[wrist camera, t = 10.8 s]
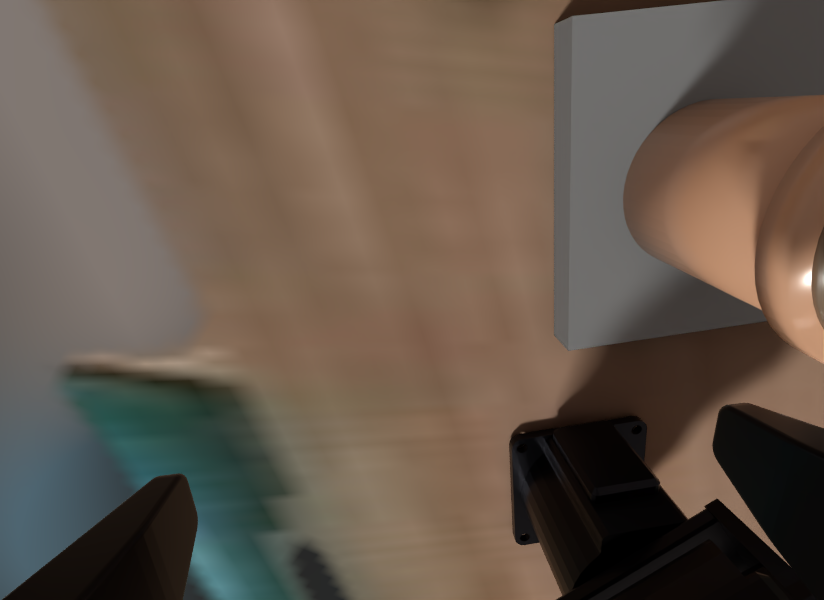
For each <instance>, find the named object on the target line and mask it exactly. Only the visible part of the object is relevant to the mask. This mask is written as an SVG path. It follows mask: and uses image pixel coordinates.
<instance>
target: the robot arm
mask: <svg viewBox="0 0 824 600" xmlns="http://www.w3.org/2000/svg"><path fill="white" fill-rule="evenodd" d="M634 426H636V427H635V428H634V429H632V428H633V427H634ZM646 433H647V426H646V424H645V423H644V422H643V420H642V419H641V418H640V417H637V416H630V417H624V418H618V419H611V420H605V421H599V422H593V423H586V424H580V425H574V426H567V427H561V428H555V429H549V430H542V431H536V432H530V433H524V434H518V435H515V436H514V437H513V438H512V439H511V440H510V443H509V451H510V475H511V500H512V525H513V535H514V538H515V540H516V542H517V543H518V544H520V545H527V544H533V543H539V542H540V545H541V547H542V549H543V552H544V554H545V556H546V559H547V561H548V563H549V565H550V568H551V570H552V572H553V575H554V577H555V579H556V582H557V584H558V586H559V589H560V591H561V593H562V596H561V597H560V598H558V599H556V600H824V428H821V427H818V426H815V425H812V424H809V423H806V422H803V421H800V420H797V419H794V418H791V417H788V416H785V415H782V414H780V413H777V412H774V411H771V410H768V409H765V408H762V407H759V406H756V405H753V404H750V403H739V404H731V405H725V406H723V407H722V408H721V409H720V411H719V413H718V418H717V423H716V428H715V434H714V439H713V452H714V455H715V457H716V459H717V461H718V463H719V464H720V466H721V467H722V469H723V470H724V472H725V473H726V475H727V476H728V478H729V479H730V481H731V482H732V484H733V485H734V487H735V488H736V490H737V491H738V493H739V494H740V496H741V497H742V499H743V500H744V502H745V503H746V505H747V506H748V508H749V510H750V511H751V513H752V514H753V516H754V517H755V519H756V520H757V522H758V523H759V525H760V526H761V528H762V529H763V530H764V532H765V533H766V535H767V536H768V538H769V539H770V541H771V542H772V543H773V544H774V546H775V547H776V548H777V550H778V551H779V552H780V554H781V555H782V556H783V557H784V559H785V560H786V561H787V563H788V564H789V565H790V566H791V567H790V566H789V565H788V564H787V563H786V562H785V561H784V560H783V559H782V558H780V557H779V556H778V555H777V554H776V553H775V552H774V551H773V550H772V549H771V548H770V547H769V546H768V545H767V544H765V543H764V542H763V541H762V540H761V539H760V538H759V537H758V536H757V535H756V534H755V533H754V532H753V531H752V530H750V529H749V528H748V527H747V526H746V525H745V524H744V523H743V522H742V521H741V520H740V519H739V518H738V517H737V516H735V515H734V514H733V513H732V512H731V511H730V510H729V509H728V508H727V507H726V506H725V505H724V504H723V503H722V502H720V501H719V500H718V499H715V500H714V501H712V502H711V503H709V504H707V505H706V506H705V508H706V509H705V510H703V511H701V512H700V513H698V514H696V515H695V516H693V517H691V518H690V519H688V518H687V517H686V516H685V515H684V513H683V512H682V511H681V510H680V509H679V507H678V506H677V505H676V504H675V502H674V501H673V500H672V499H671V498H670V496H669V495H668V494H667V493H666V492H665V490H664V489H663V488H662V487H661V485H660V481H659V479H658V478H657V477H656V476H655V475H654V473H653V472H652V471H651V470H650V469H649V467H648V466H647V465H646V464H645V463H644V457H645V445H646ZM520 444H524V445H523V446H522V447H518V446H519V445H520ZM197 525H198V517H197V511H196V508H195V504H194V501H193V497H192V494H191V490H190V487H189V484H188V481H187V478H186V477H185V476H184V475H183V474H171V475H163V476H158V477H155V478H154V479H152V480H151V481H150V482H148V483H147V484H146V485H145V486H143V487H142V488H141V489H140V490H138V491H137V492H136V493H135V494H133V495H132V496H131V497H130V498H128V499H127V500H126V501H125V502H123V503H122V504H121V505H120V506H118V507H117V508H116V509H115V510H113V511H112V512H111V513H110V514H108V515H107V516H106V517H105V518H103V519H102V520H101V521H100V522H98V523H97V524H96V525H95V526H93V527H92V528H91V529H90V530H88V531H87V532H86V533H85V534H83V535H82V536H81V537H80V538H78V539H77V540H76V541H75V542H73V543H72V544H71V545H70V546H68V547H67V548H66V549H65V550H63V552H61V553H60V554H58V555H57V556H56V557H55V558H53V559H52V560H51V561H50V562H48V563H47V564H46V565H45V566H43V567H42V568H41V569H40V570H39V571H37V572H36V573H35V574H33V575H32V576H31V577H30V578H28V579H27V580H26V581H25V582H24V583H22V584H21V585H20V586H18V587H17V588H16V589H15V590H13V591H12V592H11V593H10V594H8V595H7V596H6V597H5V598H3V599H2V600H183V596H184V592H185V586H186V582H187V577H188V572H189V567H190V562H191V557H192V552H193V547H194V542H195V537H196V532H197ZM523 534H524V535H523Z"/></svg>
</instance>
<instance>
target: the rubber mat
mask: <svg viewBox="0 0 824 600" xmlns="http://www.w3.org/2000/svg"><path fill="white" fill-rule="evenodd" d="M807 95H824V0H722V1H712V2H703V3H693V4H683V5H674V6H664V7H655V8H645V9H635V10H626V11H616V12H607V13H597V14H587V15H578V16H571V17H569V18H567V19H565V20H563V21H560V22H558V23H556V24H554V336H555V337H556V338H557V339H558V340H559V341H560V342H561V343H562V344H563V345H564V347H565V348H566V349H567V350H568V351H570V350H577V349H583V348H590V347H597V346H603V345H610V344H617V343H624V342H630V341H637V340H644V339H650V338H657V337H664V336H670V335H677V334H684V333H691V332H697V331H704V330H711V329H717V328H724V327H731V326H737V325H744V324H751V323H758V322H764V321H767V319H766V318H765V316H764V314H763V312H762V310H760V309H758V308H756V307H754V306H752V305H750V304H748V303H746V302H744V301H742V300H740V299H738V298H736V297H734V296H732V295H730V294H728V293H726V292H724V291H721V290H719V289H717V288H715V287H713V286H711V285H709V284H707V283H705V282H703V281H701V280H699V279H697V278H695V277H693V276H691V275H689V274H687V273H684V272H682V271H680V270H678V269H676V268H674V267H672V266H670V265H668V264H666V263H664V262H662V261H660V260H658V259H656V258H654V257H652V256H651V255H649V254H648V253H646V252H645V251H644V250H643V249H642V248H641V247H640V246H639V245H638V244H637V243H636V242H635V240H634V238H633V237H632V235H631V233H630V231H629V229H628V227H627V224H626V220H625V216H624V209H623V194H624V185H625V181H626V177H627V173H628V171H629V168H630V165H631V163H632V161H633V159H634V156H635V154H636V152H637V151H638V149H639V148H640V146H641V145H642V143H643V142H644V140H645V139H646V138H647V137H648V135H649V134H650V133H651V132H652V131H653V130H654V129H655V128H656V127H657V126H658V125H659V124H660V123H661V122H662V121H664V120H665V119H666V118H667V117H668V116H670V115H672V114H673V113H675V112H676V111H678V110H680V109H682V108H684V107H686V106H688V105H690V104H693V103H696V102H699V101H704V100H709V99H725V98H753V97H780V96H807Z"/></svg>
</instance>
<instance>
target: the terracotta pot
mask: <svg viewBox="0 0 824 600" xmlns="http://www.w3.org/2000/svg"><path fill="white" fill-rule="evenodd" d="M623 209H624V216H625V220H626V224H627V227H628V229H629V231H630V233H631V235H632V237H633V238H634V240H635V242H636V243H637V244H638V245H639V246H640V247H641V248H642V249H643V250H644V251H645V252H646V253H648V254H649V255H651V256H652V257H654V258H656V259H658V260H660V261H662V262H664V263H666V264H668V265H670V266H672V267H674V268H676V269H678V270H680V271H682V272H684V273H687V274H689V275H691V276H693V277H695V278H697V279H699V280H701V281H703V282H705V283H707V284H709V285H711V286H713V287H715V288H717V289H719V290H721V291H724V292H726V293H728V294H730V295H732V296H734V297H736V298H738V299H740V300H742V301H744V302H746V303H748V304H750V305H752V306H754V307H756V308H758V309H760V310H762V312H763V314H764V316H765V318H766V319H767V321H768V323H769V325H770V326H771V328H772V329H773V330H774V331H775V332H776V333H777V335H778V336H779V337H780V338H781V339H783V340H784V341H785V342H786V343H787V344H789V345H790V346H792V347H793V348H795V349H797V350H799V351H801V352H802V353H804V354H806V355H808V356H810V357H812V358H814V359H815V360H817V361H819V362H821V363H823V364H824V95H807V96H780V97H753V98H725V99H709V100H704V101H699V102H696V103H693V104H690V105H688V106H686V107H684V108H682V109H680V110H678V111H676V112H675V113H673V114H672V115H670V116H668V117H667V118H666V119H665V120H664V121H662V122H661V123H660V124H659V125H658V126H657V127H656V128H655V129H654V130H653V131H652V132H651V133H650V134H649V135H648V137H647V138H646V139H645V140H644V142H643V143H642V145H641V146H640V148H639V149H638V151H637V152H636V154H635V156H634V159H633V161H632V163H631V165H630V168H629V171H628V173H627V177H626V181H625V185H624V194H623Z"/></svg>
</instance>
